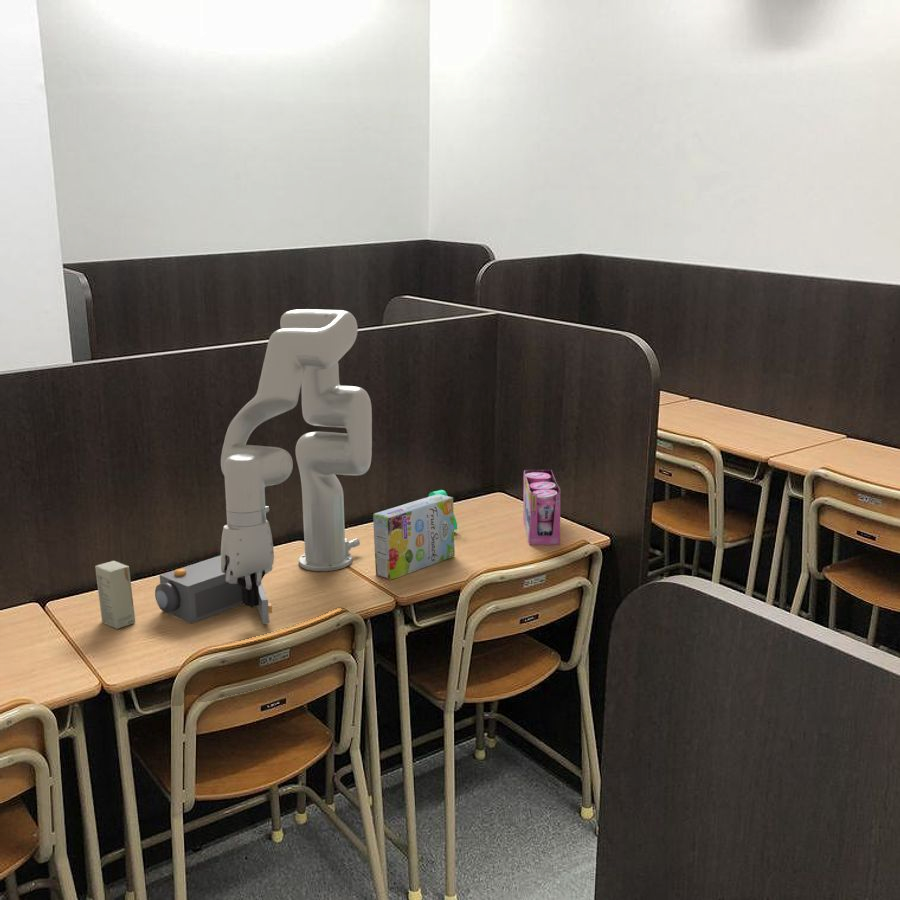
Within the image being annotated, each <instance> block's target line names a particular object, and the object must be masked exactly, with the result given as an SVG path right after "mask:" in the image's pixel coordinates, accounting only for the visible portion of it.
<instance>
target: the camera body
mask: <svg viewBox="0 0 900 900" xmlns="http://www.w3.org/2000/svg"><path fill="white" fill-rule="evenodd" d="M225 579H226V573H223V572H222V571H221V554H220V555H217V556H214V557H211V558H208V559H205V560H201V561H199V562H196V563H193V564H190V565H187V566H184V567H180V568H177V569H175V570H174V569H173V570H171V571H167V572H165V573H161V574H159V584H157V585H156V587H155V590H154V595H155V596H154V597H155V601H156V603H157V606H158V607H159V609H160V610H161V611H162V612H164V613H165V614H168V615H171V616H173V617H175V618H177V619H180V620H181V621H184V622H186V623H188V624H193V623H196V622H199V621H202V620H204V619H207V618H209V617H212V616H215V615H217V614H220V613H223V612H225V611H228V610H231V609H233V608H236V607H238V606H241V605H244V604H243V601H242V587H240V586H239V585H238V584H229V583H227V582H226V581H225Z"/></svg>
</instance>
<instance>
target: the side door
mask: <svg viewBox="0 0 900 900" xmlns="http://www.w3.org/2000/svg"><path fill="white" fill-rule="evenodd" d="M257 609H258V613H259V614H260V615H259V616H260V619H261V621H262V624H263V625H266V624H267V625H268V624H270V614H273V605H272V603H271V602H269V598H268V596H267V594H266V591H265V588H264V585H263V582H262V581H261V585H260V586H259V605H258V606H257Z"/></svg>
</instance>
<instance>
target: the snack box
mask: <svg viewBox="0 0 900 900" xmlns="http://www.w3.org/2000/svg"><path fill="white" fill-rule="evenodd" d="M454 516H455V512H454V497H453V496H445V495H441V494H436V495H433V496H430V497H429V496H427V497H423V498H420V499H417V500H413V501H411V502H407V503H404V504H402V505H398V506H395V507H391V508H387V509H385V510H381V511H377V512H375V513H373V514H372V518H373V519H372V520H373V522H372V523H373V539H374V540H373V543H374V564H375V565H374V566H375V575H376V576H377V577H380V578H383V577H384V578H383V579H387V580H389V579H390V581H392V580H391V579H393V580H395V579H397V577H398V578H400V577H402V576H405V574H406V575H408V574H410V573H413V571H414V572H417V571H419V570H421V568H422V569H423V568H424V569H425V568H426V567H429V566H433V565H435V564H437V563H440V562H442V561H446V560H449V559H451V558H453V557H455V555H456V552H455V548H456V547H455V530H454ZM394 578H395V579H394Z"/></svg>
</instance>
